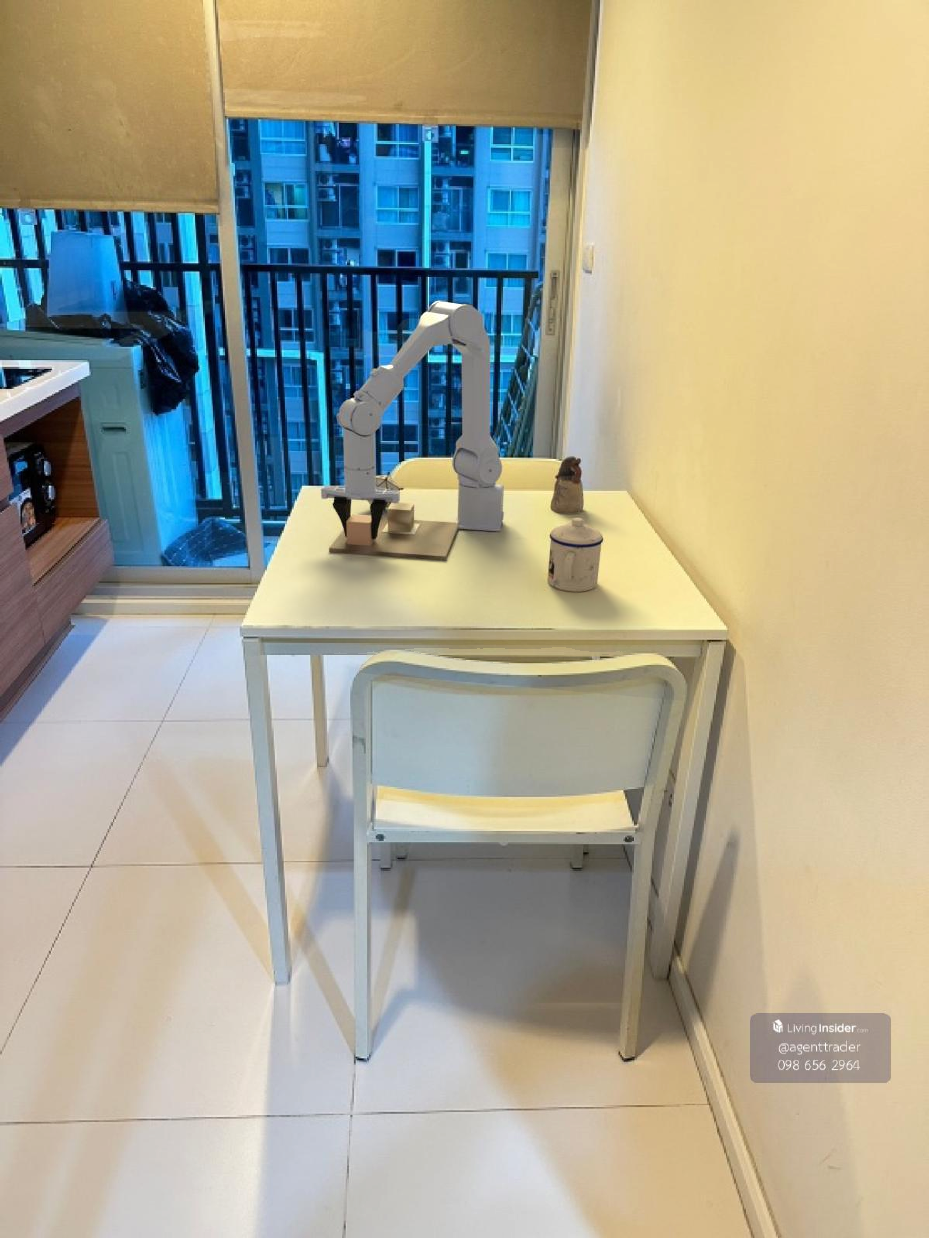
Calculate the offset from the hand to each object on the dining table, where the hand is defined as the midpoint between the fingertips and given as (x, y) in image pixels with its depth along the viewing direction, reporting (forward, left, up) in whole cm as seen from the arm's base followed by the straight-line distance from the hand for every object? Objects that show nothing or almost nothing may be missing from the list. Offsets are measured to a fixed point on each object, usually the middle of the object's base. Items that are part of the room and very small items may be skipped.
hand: (361, 536), depth 158 cm
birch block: (-6, -9, -1) cm, 11 cm away
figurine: (-39, -32, -2) cm, 50 cm away
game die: (+1, -23, -2) cm, 23 cm away
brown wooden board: (-6, -5, -2) cm, 8 cm away
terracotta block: (0, 0, -1) cm, 1 cm away
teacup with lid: (-40, +13, -2) cm, 42 cm away
